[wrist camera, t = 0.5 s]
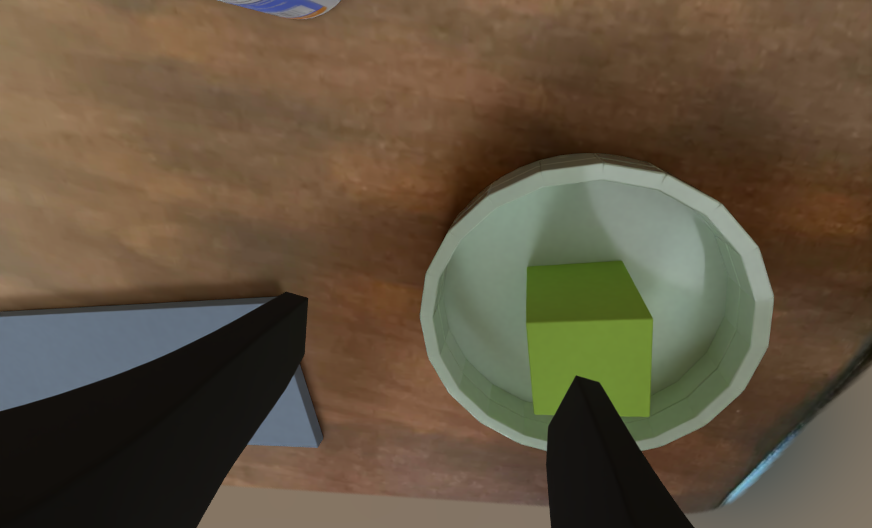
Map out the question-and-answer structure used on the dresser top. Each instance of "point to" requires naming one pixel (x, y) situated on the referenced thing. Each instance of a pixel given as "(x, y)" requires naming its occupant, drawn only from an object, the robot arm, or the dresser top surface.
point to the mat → (130, 354)
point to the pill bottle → (288, 7)
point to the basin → (585, 243)
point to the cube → (588, 335)
